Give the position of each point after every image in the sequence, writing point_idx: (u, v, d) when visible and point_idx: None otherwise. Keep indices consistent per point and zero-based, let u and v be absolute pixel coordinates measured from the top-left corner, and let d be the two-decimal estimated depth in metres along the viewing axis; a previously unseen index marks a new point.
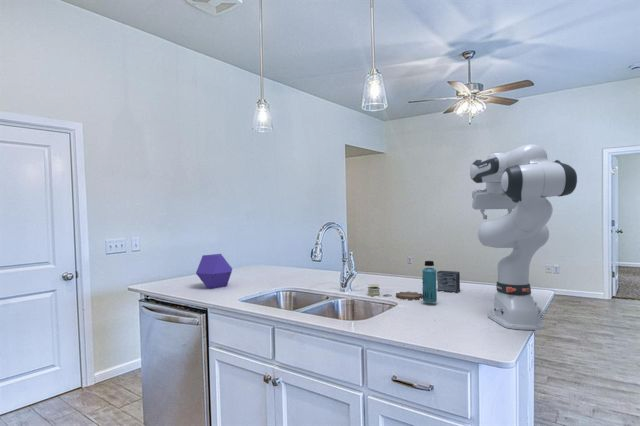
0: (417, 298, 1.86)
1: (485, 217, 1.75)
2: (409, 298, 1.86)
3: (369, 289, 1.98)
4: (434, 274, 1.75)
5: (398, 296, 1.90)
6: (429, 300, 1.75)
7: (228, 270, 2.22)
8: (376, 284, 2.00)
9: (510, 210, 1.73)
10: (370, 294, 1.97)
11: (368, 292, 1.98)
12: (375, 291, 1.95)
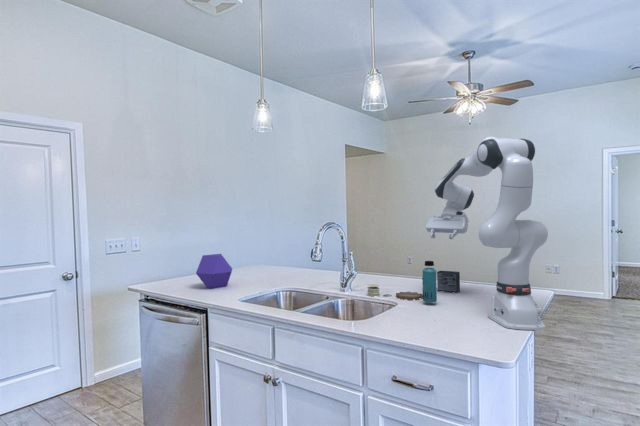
0: (417, 298, 1.86)
1: (432, 234, 1.90)
2: (409, 298, 1.86)
3: (369, 289, 1.97)
4: (434, 274, 1.75)
5: (398, 296, 1.90)
6: (429, 300, 1.75)
7: (228, 270, 2.22)
8: (376, 284, 2.00)
9: (454, 230, 1.84)
10: (370, 294, 1.97)
11: (368, 292, 1.97)
12: (375, 291, 1.95)
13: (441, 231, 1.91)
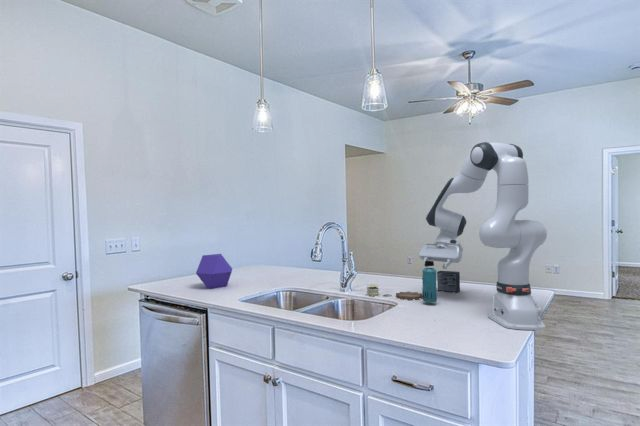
0: (417, 298, 1.86)
1: None
2: (409, 298, 1.86)
3: (368, 289, 1.97)
4: (434, 274, 1.75)
5: (398, 296, 1.90)
6: (429, 300, 1.75)
7: (228, 270, 2.22)
8: (375, 284, 1.99)
9: (448, 260, 1.79)
10: (369, 294, 1.97)
11: (367, 292, 1.97)
12: (374, 291, 1.94)
13: (435, 259, 1.86)
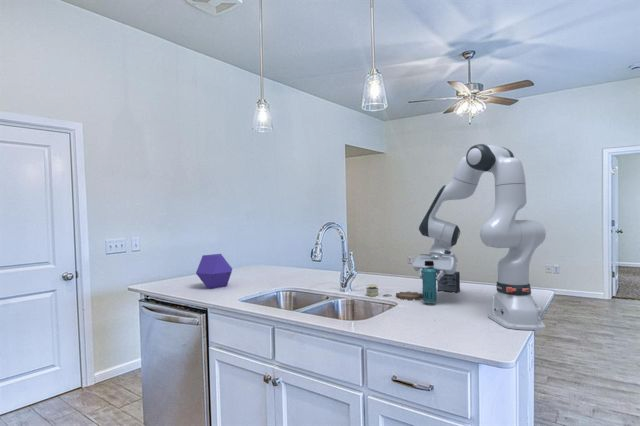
0: (417, 298, 1.86)
1: (420, 274, 1.80)
2: (409, 298, 1.86)
3: (368, 289, 1.97)
4: (434, 274, 1.75)
5: (398, 296, 1.90)
6: (429, 300, 1.75)
7: (228, 270, 2.22)
8: (374, 284, 1.99)
9: (441, 271, 1.75)
10: (369, 294, 1.96)
11: (367, 292, 1.96)
12: (374, 291, 1.94)
13: None
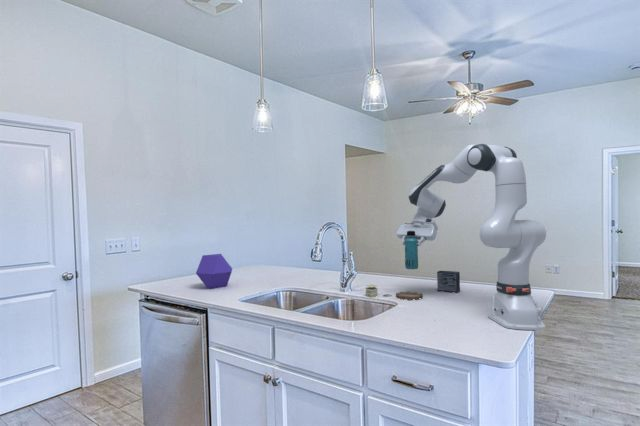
0: (417, 298, 1.86)
1: (403, 241, 1.92)
2: (409, 298, 1.86)
3: (367, 290, 1.96)
4: (415, 243, 1.87)
5: (398, 296, 1.90)
6: (411, 267, 1.88)
7: (228, 270, 2.22)
8: None
9: (422, 237, 1.87)
10: (368, 295, 1.96)
11: (366, 293, 1.96)
12: (373, 292, 1.93)
13: None
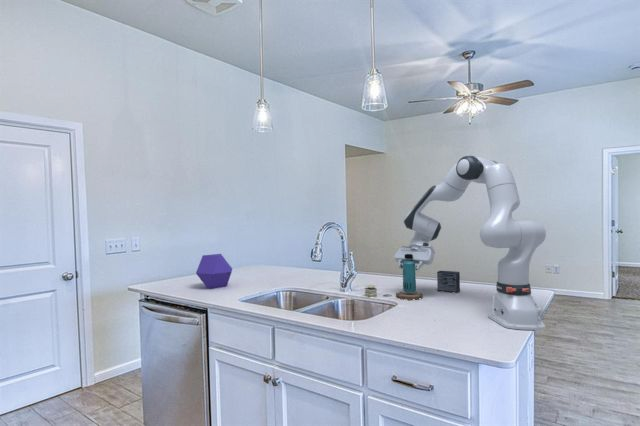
0: (417, 298, 1.86)
1: (399, 265, 1.95)
2: (409, 298, 1.86)
3: (366, 290, 1.95)
4: (413, 266, 1.90)
5: (398, 296, 1.90)
6: (409, 290, 1.90)
7: (228, 270, 2.22)
8: (373, 285, 1.98)
9: (420, 262, 1.89)
10: (367, 295, 1.95)
11: (365, 293, 1.95)
12: (372, 292, 1.93)
13: None
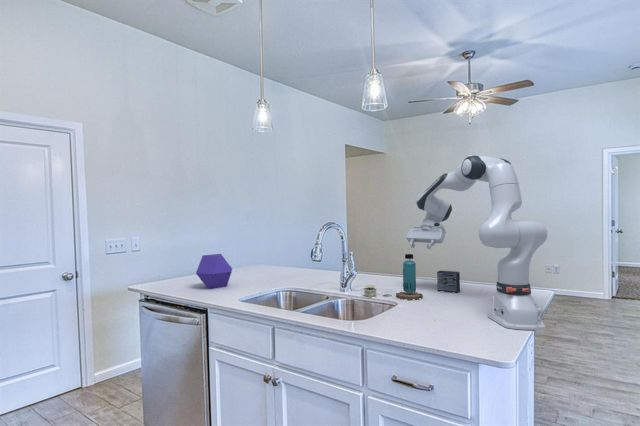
0: (417, 298, 1.86)
1: (412, 244, 2.04)
2: (409, 298, 1.86)
3: (365, 290, 1.95)
4: (413, 266, 1.90)
5: (398, 296, 1.90)
6: (409, 290, 1.90)
7: (228, 270, 2.22)
8: (372, 285, 1.98)
9: (432, 240, 1.98)
10: (367, 295, 1.95)
11: (364, 293, 1.95)
12: (372, 292, 1.93)
13: (420, 241, 2.05)
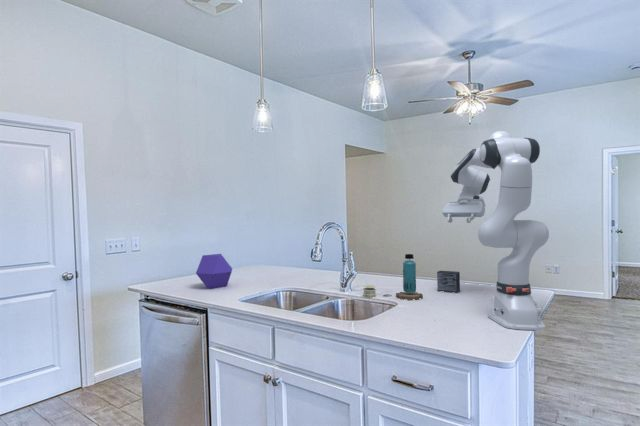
0: (417, 298, 1.86)
1: (449, 219, 1.91)
2: (409, 298, 1.86)
3: (365, 290, 1.94)
4: (413, 266, 1.90)
5: (398, 296, 1.90)
6: (409, 290, 1.90)
7: (228, 270, 2.22)
8: (371, 285, 1.97)
9: (472, 214, 1.86)
10: (366, 295, 1.94)
11: (364, 293, 1.94)
12: (371, 292, 1.92)
13: (458, 215, 1.93)
